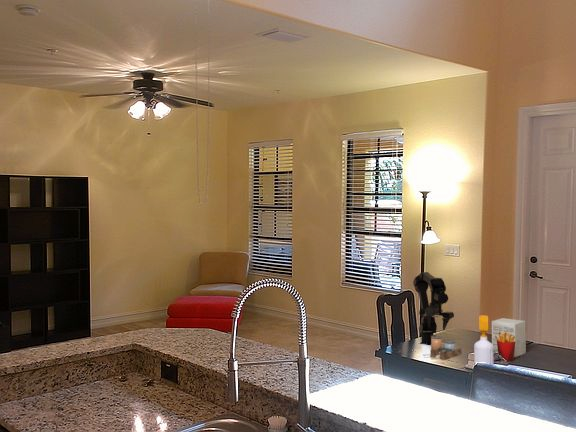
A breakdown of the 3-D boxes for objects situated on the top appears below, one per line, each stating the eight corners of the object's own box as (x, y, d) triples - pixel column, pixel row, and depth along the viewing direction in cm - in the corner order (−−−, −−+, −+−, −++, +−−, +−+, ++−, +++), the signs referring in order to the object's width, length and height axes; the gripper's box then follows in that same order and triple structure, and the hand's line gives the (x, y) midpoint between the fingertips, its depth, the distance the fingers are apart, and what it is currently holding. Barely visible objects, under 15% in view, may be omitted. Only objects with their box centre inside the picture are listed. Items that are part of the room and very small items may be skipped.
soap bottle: (493, 364, 289) (493, 314, 289) (493, 368, 280) (493, 318, 280) (474, 362, 292) (474, 314, 292) (474, 367, 283) (473, 317, 283)
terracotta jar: (428, 349, 321) (428, 336, 321) (434, 347, 325) (434, 334, 325) (438, 351, 317) (438, 337, 317) (443, 349, 321) (443, 336, 321)
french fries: (505, 358, 300) (505, 329, 300) (518, 361, 293) (518, 332, 293) (493, 360, 296) (493, 331, 296) (506, 364, 289) (506, 334, 289)
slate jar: (442, 354, 310) (441, 340, 310) (447, 352, 314) (447, 339, 314) (451, 356, 306) (451, 342, 306) (457, 354, 310) (457, 340, 310)
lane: (446, 351, 316) (446, 344, 316) (461, 354, 310) (461, 346, 310) (429, 357, 304) (429, 349, 304) (445, 360, 298) (445, 352, 298)
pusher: (441, 353, 310) (441, 347, 310) (452, 355, 305) (452, 349, 305) (434, 356, 305) (434, 349, 305) (445, 358, 300) (445, 351, 300)
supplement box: (502, 349, 320) (502, 317, 320) (526, 353, 311) (526, 320, 311) (491, 353, 311) (491, 320, 311) (515, 357, 302) (515, 324, 301)
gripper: (413, 300, 322) (413, 328, 322) (444, 304, 309) (444, 333, 309) (424, 298, 330) (424, 325, 330) (454, 301, 317) (454, 330, 317)
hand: (436, 328), depth 321 cm, fingers open, 9 cm apart
